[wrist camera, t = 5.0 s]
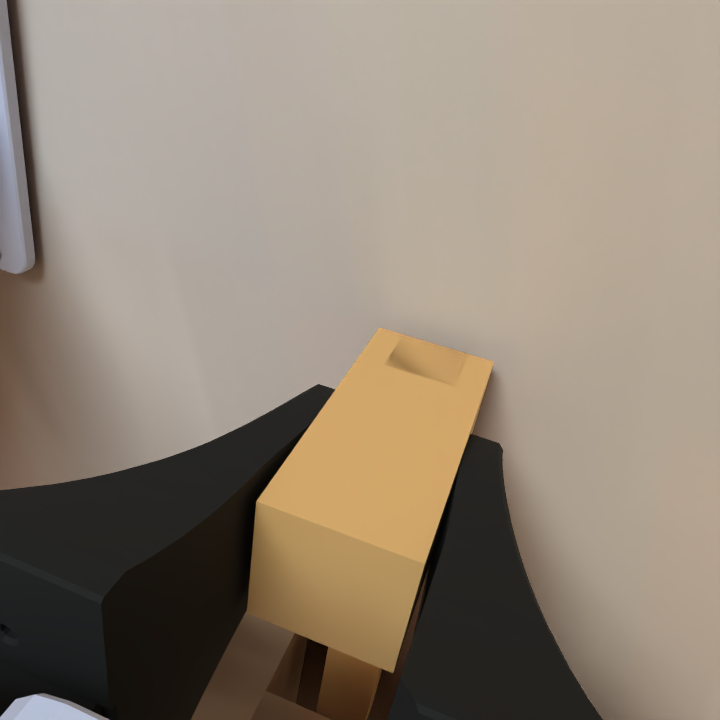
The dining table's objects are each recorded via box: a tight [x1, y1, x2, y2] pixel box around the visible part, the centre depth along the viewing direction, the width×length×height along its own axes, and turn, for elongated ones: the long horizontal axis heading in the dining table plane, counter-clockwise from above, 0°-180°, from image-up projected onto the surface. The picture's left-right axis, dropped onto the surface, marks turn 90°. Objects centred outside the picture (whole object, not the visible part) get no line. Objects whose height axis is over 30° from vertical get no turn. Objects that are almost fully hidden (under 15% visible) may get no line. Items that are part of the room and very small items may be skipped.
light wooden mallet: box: [247, 328, 494, 720], centre depth 15 cm, size 3×13×6 cm, turn 171°
